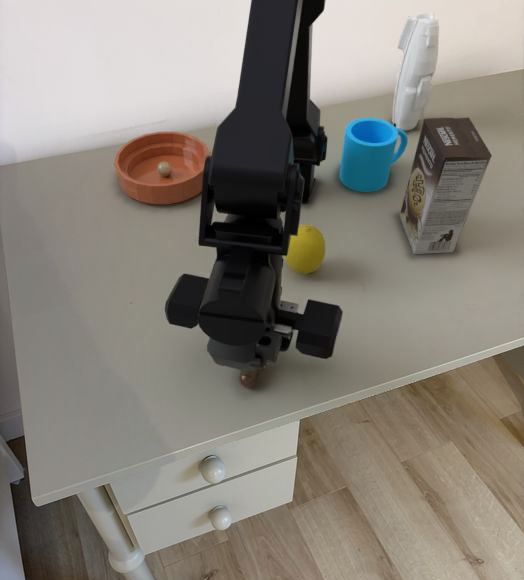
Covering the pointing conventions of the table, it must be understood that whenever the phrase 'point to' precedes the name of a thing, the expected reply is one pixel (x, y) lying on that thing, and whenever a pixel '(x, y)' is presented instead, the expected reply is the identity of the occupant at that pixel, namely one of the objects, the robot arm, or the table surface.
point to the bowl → (145, 158)
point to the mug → (369, 153)
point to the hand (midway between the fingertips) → (254, 359)
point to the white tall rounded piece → (415, 70)
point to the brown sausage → (248, 377)
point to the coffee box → (443, 183)
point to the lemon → (306, 250)
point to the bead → (164, 169)
